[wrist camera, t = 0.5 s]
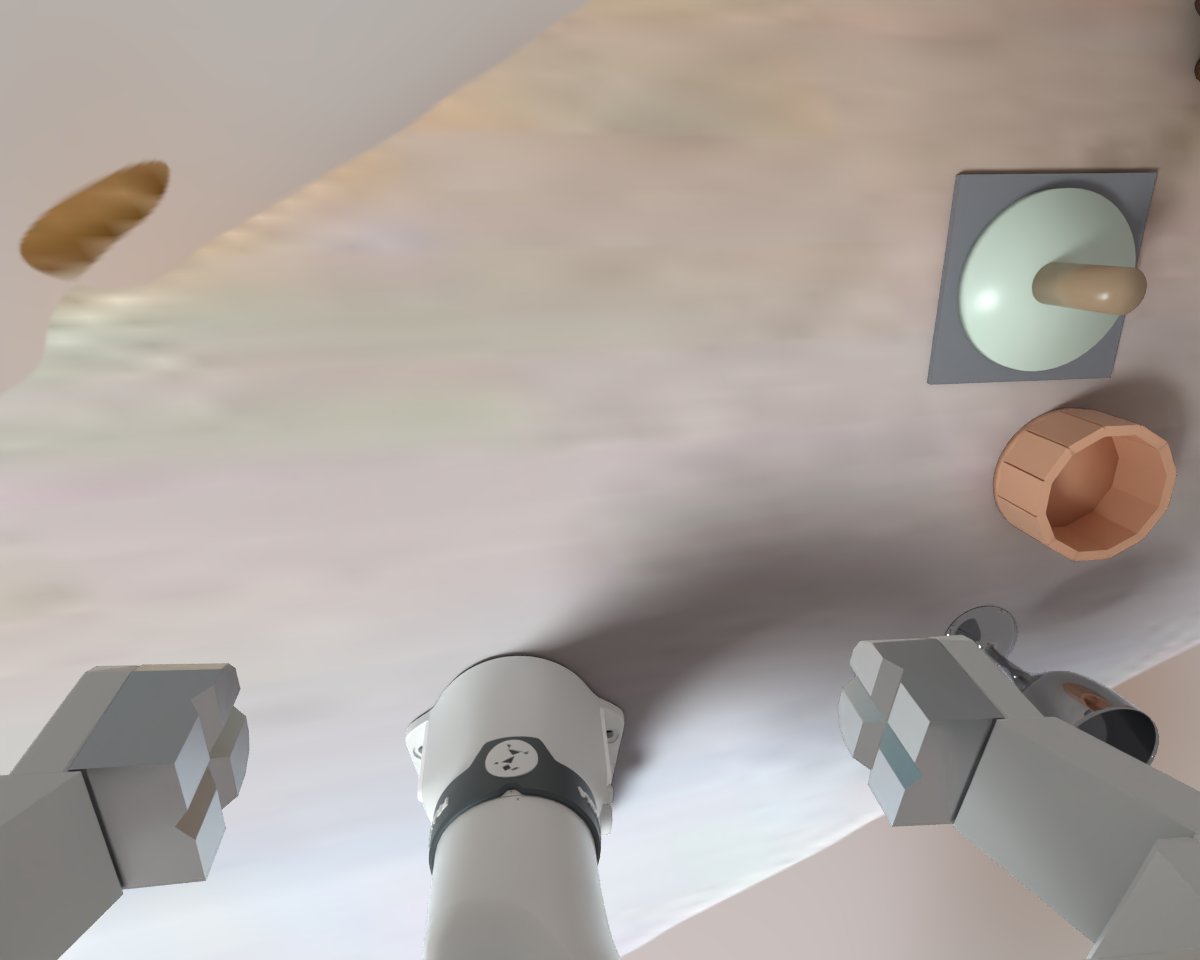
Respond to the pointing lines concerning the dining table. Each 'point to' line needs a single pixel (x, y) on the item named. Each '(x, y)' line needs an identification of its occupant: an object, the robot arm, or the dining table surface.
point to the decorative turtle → (1199, 66)
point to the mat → (969, 216)
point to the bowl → (1084, 482)
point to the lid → (1048, 279)
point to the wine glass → (1062, 688)
